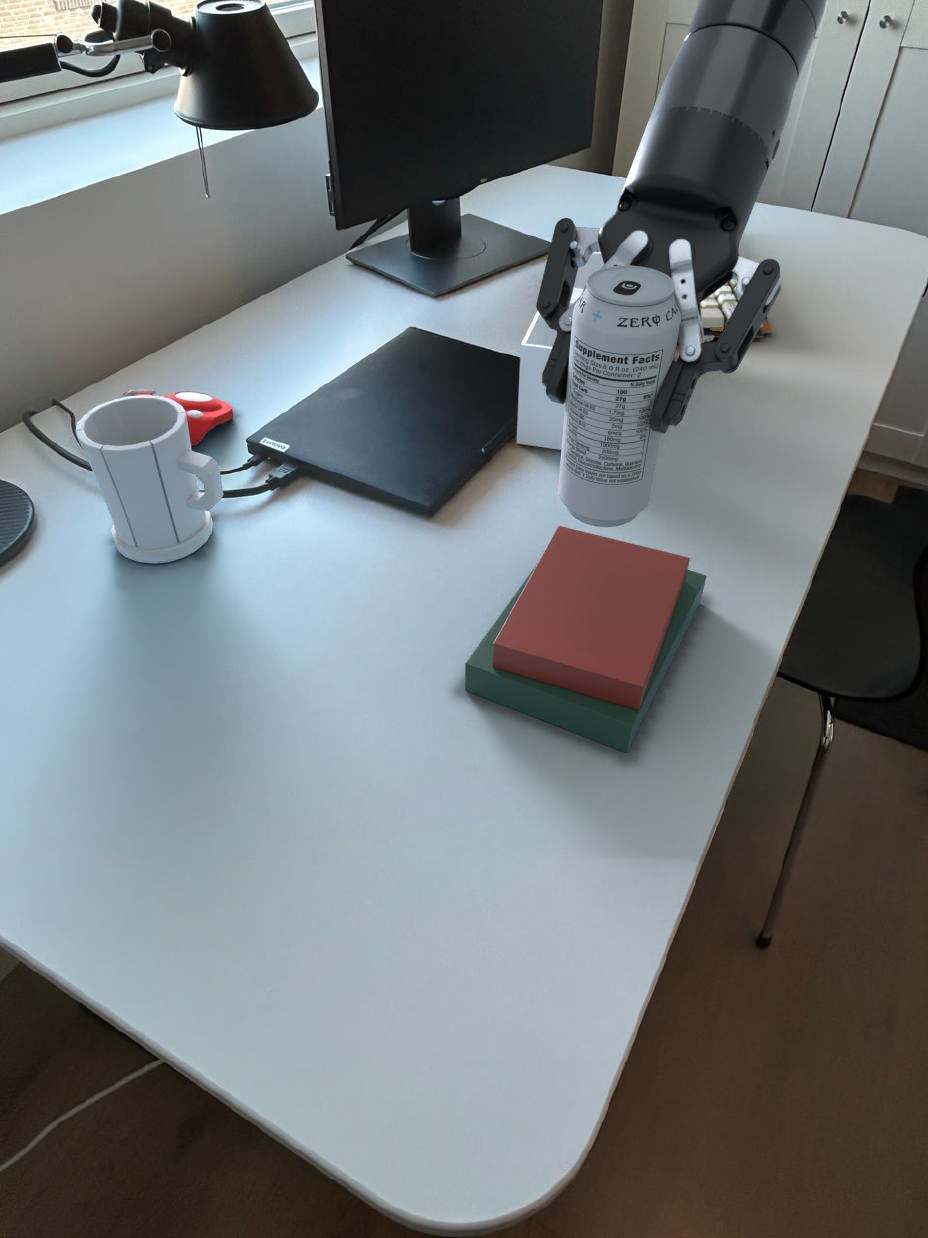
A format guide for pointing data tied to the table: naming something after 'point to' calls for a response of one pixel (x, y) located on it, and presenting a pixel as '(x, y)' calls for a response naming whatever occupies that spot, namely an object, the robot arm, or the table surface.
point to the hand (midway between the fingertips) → (605, 412)
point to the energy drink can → (615, 392)
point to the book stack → (588, 636)
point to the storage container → (535, 408)
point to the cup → (150, 477)
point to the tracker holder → (196, 411)
